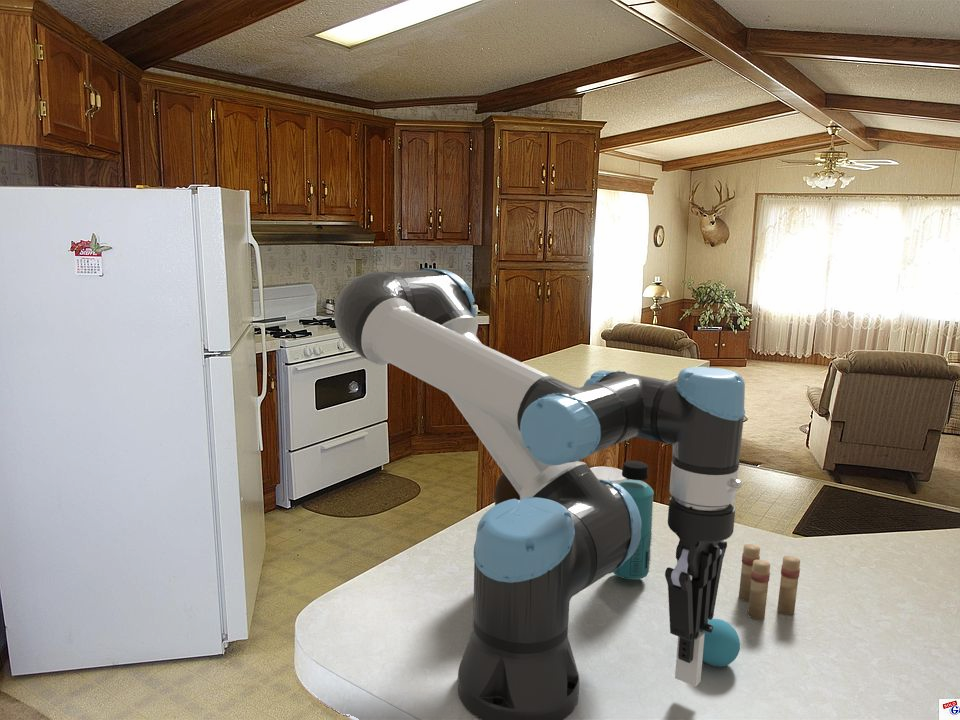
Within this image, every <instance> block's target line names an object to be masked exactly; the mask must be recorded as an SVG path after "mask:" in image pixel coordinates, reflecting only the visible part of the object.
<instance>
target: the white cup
mask: <svg viewBox="0 0 960 720" xmlns="http://www.w3.org/2000/svg"><path fill="white" fill-rule="evenodd" d="M589 468H590V469H591V471H592V472H593V473H594V475H595V476H596V477H597V479H598V480H601V479H602V480H608V481H609V482H615V483H617V484H619V483H621V482H622V481H624V480H628V479H627V478H625V477H623V476H622V470H623V469H620V468H617V467H612V466H593V467H589Z"/></svg>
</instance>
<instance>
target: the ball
mask: <svg viewBox="0 0 960 720" xmlns="http://www.w3.org/2000/svg"><path fill="white" fill-rule="evenodd" d="M708 624H709V625H712V626H713V630H712V632H711V633H709V632H707V631H704V630H703V633H705V635H704V647H703V659H702V662H704V663H706V664H708V665H710V666H713V667H724V666H725V667H726V666H728V665H731V664H732V663H733V662H734V661H735V660H736V659H737V657H738V655H739V653H740V650H741V642H740V640H741V639H740V637H739V634H738V632H737V631H736V629H735V628H734V627H733V626H732V625H731V624H730V623H729V622H727V621H725V620H723V619H720V618H714V617H713V618H712V619H711V620H709V619H708Z"/></svg>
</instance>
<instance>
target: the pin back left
mask: <svg viewBox="0 0 960 720" xmlns="http://www.w3.org/2000/svg"><path fill="white" fill-rule="evenodd" d="M760 551H761V548H760V546H758V545H756V544H751V543H746V544H744V545H743V550H742V555H741V556H742V557H741V570H740V571H741V573H740V581H739V589H738V590H739V591H738V598H739V599H740V600H742V601H745V602H749V597H750V587H751V572H752V568H753V561H754V560H761V559H760V558H761V556H760V555H761V554H760V553H761V552H760Z"/></svg>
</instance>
